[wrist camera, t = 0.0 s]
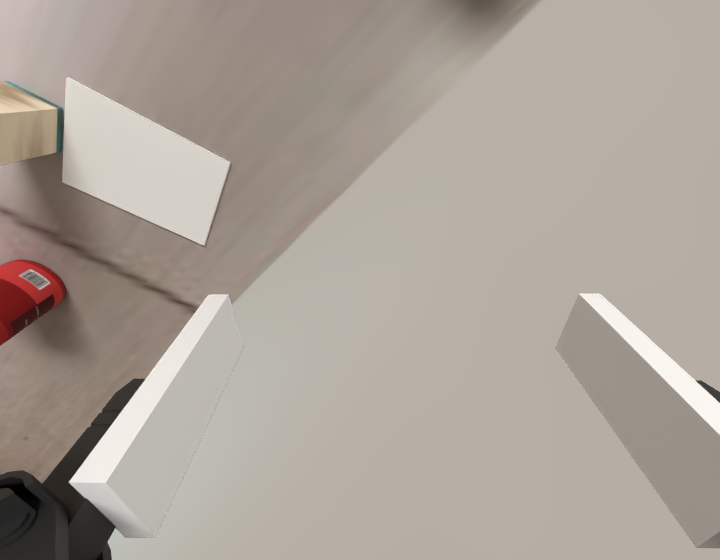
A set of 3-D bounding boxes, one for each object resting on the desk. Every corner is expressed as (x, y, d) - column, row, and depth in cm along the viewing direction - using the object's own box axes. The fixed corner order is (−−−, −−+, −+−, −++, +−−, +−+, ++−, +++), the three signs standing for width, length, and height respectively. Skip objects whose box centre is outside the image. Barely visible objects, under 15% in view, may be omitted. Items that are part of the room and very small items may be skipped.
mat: (64, 181, 38) (62, 182, 37) (69, 77, 32) (65, 77, 32) (205, 244, 42) (203, 245, 42) (231, 162, 36) (230, 163, 36)
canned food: (-2, 252, 43) (-103, 298, 34) (60, 265, 44) (-21, 314, 35) (16, 296, 47) (-70, 348, 38) (73, 307, 48) (3, 361, 39)
